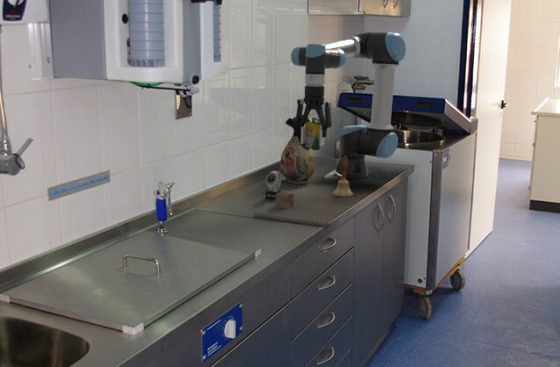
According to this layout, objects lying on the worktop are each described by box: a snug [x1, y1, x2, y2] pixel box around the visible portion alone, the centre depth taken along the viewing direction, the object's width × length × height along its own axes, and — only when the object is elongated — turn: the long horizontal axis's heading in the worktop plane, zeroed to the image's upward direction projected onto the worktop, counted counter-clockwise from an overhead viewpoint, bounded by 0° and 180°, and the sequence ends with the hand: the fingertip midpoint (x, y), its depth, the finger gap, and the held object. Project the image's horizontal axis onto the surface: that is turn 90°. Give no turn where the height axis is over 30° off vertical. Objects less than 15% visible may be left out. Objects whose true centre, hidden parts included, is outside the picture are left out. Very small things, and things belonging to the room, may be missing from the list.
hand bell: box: [332, 156, 354, 197], centre depth 270 cm, size 8×8×16 cm
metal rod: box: [254, 212, 330, 228], centre depth 232 cm, size 2×27×2 cm, turn 69°
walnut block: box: [275, 190, 295, 210], centre depth 251 cm, size 5×5×5 cm
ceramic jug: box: [279, 114, 316, 185], centre depth 286 cm, size 17×15×30 cm
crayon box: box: [305, 117, 321, 151], centre depth 256 cm, size 7×3×12 cm, turn 24°
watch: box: [264, 170, 283, 201], centre depth 260 cm, size 6×8×11 cm
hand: (312, 144), depth 257 cm, fingers closed on crayon box, 7 cm apart
